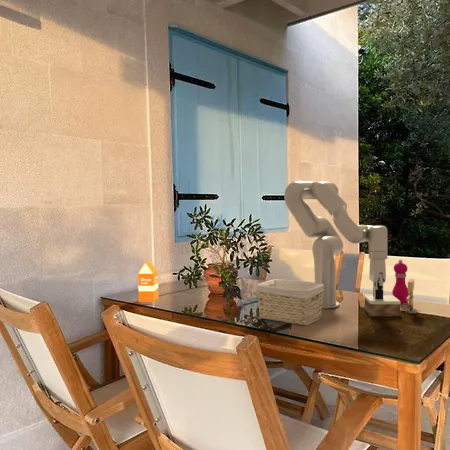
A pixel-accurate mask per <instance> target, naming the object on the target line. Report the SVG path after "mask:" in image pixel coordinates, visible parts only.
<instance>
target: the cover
mask: <svg viewBox="0 0 450 450" xmlns="http://www.w3.org/2000/svg"><path fill="white" fill-rule="evenodd" d="M375 290H376V286H374V297H373V294H368V295H367V294H365V295H364V298H365V299H366V300H367V301H368V302H369V303H370V304H400V301H399V300H398V299H397V298H396V297H394V296H393V294H392V295H391V294H383V299H375ZM400 305H401V304H400Z"/></svg>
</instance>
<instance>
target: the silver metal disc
mask: <svg viewBox="0 0 450 450" xmlns="http://www.w3.org/2000/svg"><path fill="white" fill-rule="evenodd" d="M417 312H418V311H417V309H414V308H413V310H409V308H407V309H405V313H406V314H409V315H416V314H417Z"/></svg>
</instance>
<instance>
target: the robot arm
mask: <svg viewBox="0 0 450 450" xmlns="http://www.w3.org/2000/svg"><path fill="white" fill-rule="evenodd" d="M283 196H284V202H285V205H286V208H287V209H288V210H289V212H290V213H291V215H292V216H293V217H294V219H295V221H296V223H297V224H298V226H299V227H300V228H301V229H300V230H301V231H302V232H303V233H304V235H305V236H306V237H308V238H316V239H315V240H314V241H313V244H312V254H313V255H312V257H313V265H314V266H313V269H314V283H317V284H323V285H324V291H323V294H322V295H323V296H322V309H337V308H339V307H340V305H341V304H340V302H338V301H337V269H336V268H337V267H336V261H335V256H337V255H339V254H340V253H341V252H342V251H343V249H344V242H343V240H342V238H341V236H340V235H339V234H338V231H339V233H340V234H341V235H342V236H343V237H344V239H346V240H347V241H348V242H350V244H351V243H352V244H361V243H365V242H368V259H369V273H368V274H369V276H368V279H369V280H370V281H371V282H373V283H372V295H373V297H374V286H376V290H375V299H383V295H384V284H385V283H386V281H387V280H386V279H387V274H386V273H387V272H386V271H387V269H386V268H387V267H386V265H387V264H386V260H387V259H388V228H387V227H386V226H385V225H368V224H367V225H366V224H358V225H357V224H356V223H355V221H354V220H353V219H352V218H351V217H350V215H349V214H348V212H347V208H348V204H347V202H345V200H344V199H343V198H342V197H341V196H340V195H339V188H338V186H337V185H336V184H335V183H334V182H331V181H311V180H309V181H308V180H305V181H304V180H297V181H292V182H290V183H289V184H288V185H287V186H286V188H285V190H284V195H283ZM304 200H316V201H318V203H319V204H320V205H321V206H322V207H323V208H324V209H325V210H326V212H327V213H328V214H329V215H330V217H331V218H332V221H333V224H334V225H335V227H336V229H337V230H338V231H336V229H335V228H334V226H333V225H332V223H331V222H330V221H329V219H328V218H326V217H323V216H318V215H316V214H315V213H314V211H313V210H312V208H311V207H310V205H309V204H307V203H306V202H305V201H304Z"/></svg>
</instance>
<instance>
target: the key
mask: <svg viewBox="0 0 450 450" xmlns="http://www.w3.org/2000/svg"><path fill="white" fill-rule="evenodd" d="M407 288H408V292H409V295H408V297H407V301H408V309H409V310H413V309H414V290H415V279H414V278H410V279H409V280H408V281H407Z"/></svg>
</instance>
